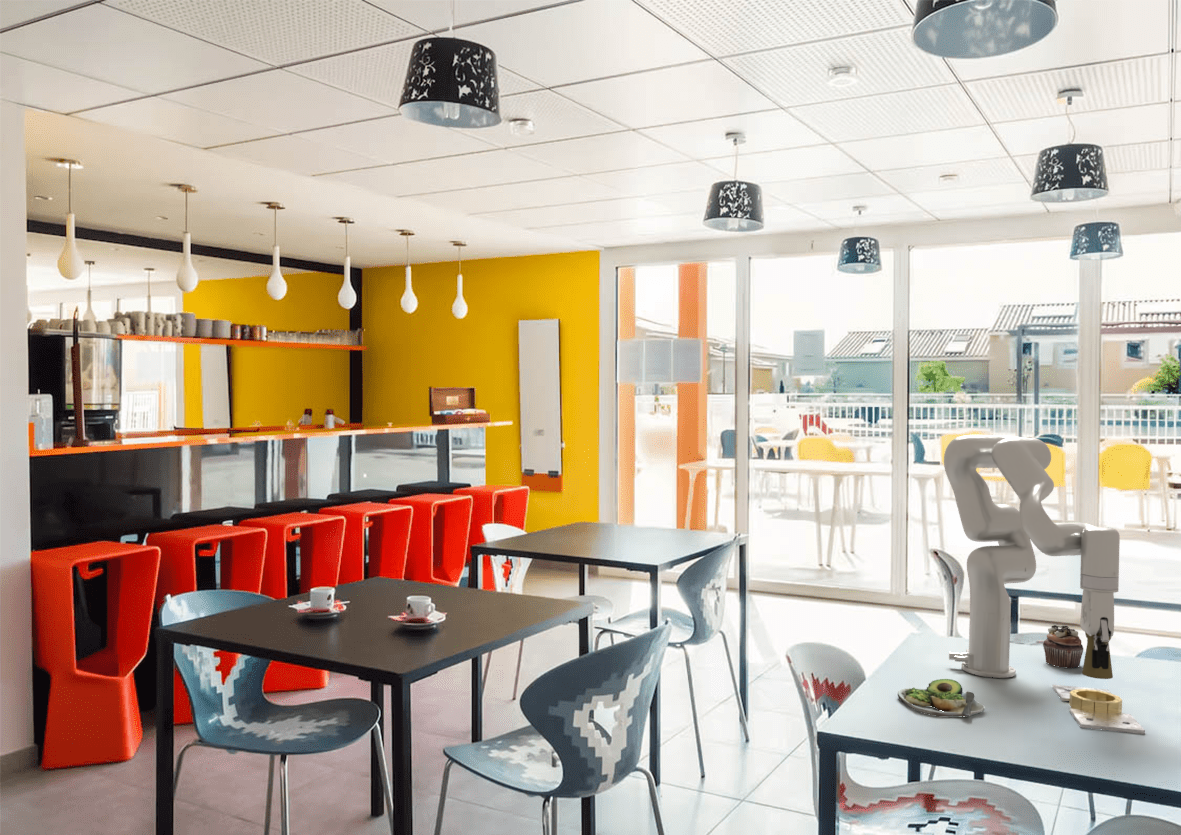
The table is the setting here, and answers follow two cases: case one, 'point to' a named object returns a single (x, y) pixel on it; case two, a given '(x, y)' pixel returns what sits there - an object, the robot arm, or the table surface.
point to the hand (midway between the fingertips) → (1097, 664)
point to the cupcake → (1063, 647)
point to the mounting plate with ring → (1097, 709)
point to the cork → (1087, 666)
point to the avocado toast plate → (942, 699)
